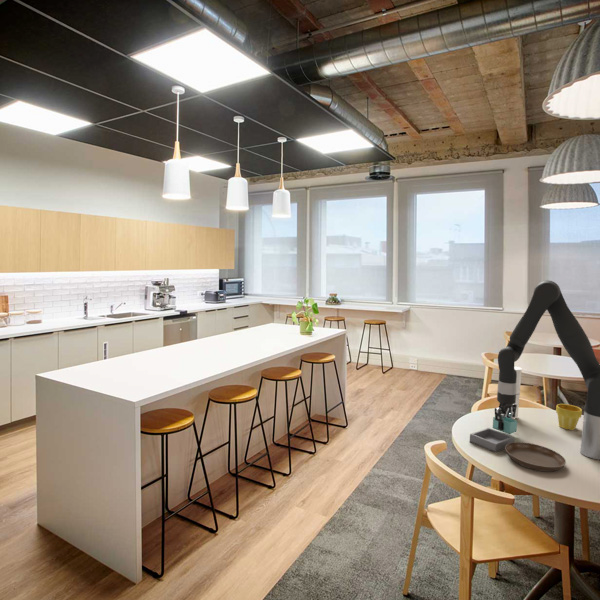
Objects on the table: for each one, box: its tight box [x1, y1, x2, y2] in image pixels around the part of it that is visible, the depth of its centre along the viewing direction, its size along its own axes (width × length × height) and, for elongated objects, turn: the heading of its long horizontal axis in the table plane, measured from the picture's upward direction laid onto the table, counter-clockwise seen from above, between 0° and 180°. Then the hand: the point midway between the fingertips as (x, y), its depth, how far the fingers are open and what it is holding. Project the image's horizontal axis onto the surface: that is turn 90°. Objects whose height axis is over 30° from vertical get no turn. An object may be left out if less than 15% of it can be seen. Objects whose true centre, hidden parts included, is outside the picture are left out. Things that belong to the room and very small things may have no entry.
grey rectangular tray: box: [469, 427, 515, 453], centre depth 181 cm, size 14×12×4 cm
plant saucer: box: [504, 441, 567, 472], centre depth 166 cm, size 21×21×3 cm
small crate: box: [492, 416, 518, 435], centre depth 191 cm, size 6×8×5 cm
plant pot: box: [555, 403, 583, 431], centre depth 202 cm, size 10×10×10 cm
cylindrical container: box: [502, 365, 523, 420], centre depth 213 cm, size 7×7×25 cm
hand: (504, 428), depth 191 cm, fingers closed on small crate, 5 cm apart
